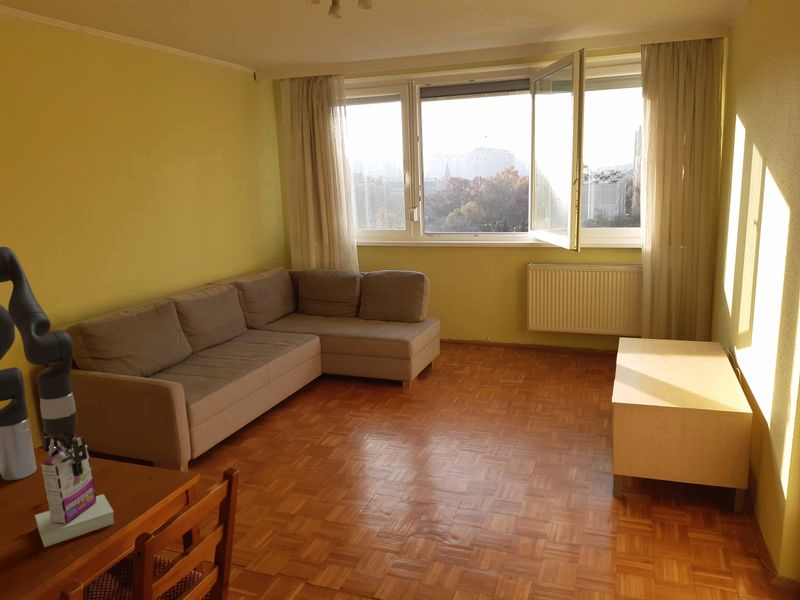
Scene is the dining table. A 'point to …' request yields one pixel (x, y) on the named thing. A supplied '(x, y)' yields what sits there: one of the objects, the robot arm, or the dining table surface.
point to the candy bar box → (67, 487)
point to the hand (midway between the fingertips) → (67, 471)
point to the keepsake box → (75, 522)
